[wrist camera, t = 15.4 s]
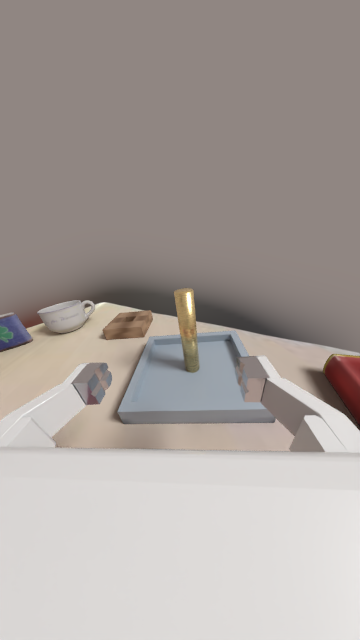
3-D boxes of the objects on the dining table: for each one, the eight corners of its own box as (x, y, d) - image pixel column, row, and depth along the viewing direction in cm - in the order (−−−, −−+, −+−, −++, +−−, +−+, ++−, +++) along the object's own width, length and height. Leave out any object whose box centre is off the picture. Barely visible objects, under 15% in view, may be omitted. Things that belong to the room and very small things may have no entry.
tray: (123, 423, 18) (117, 411, 17) (152, 346, 33) (149, 336, 31) (274, 422, 16) (278, 408, 15) (234, 340, 31) (235, 330, 30)
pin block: (106, 339, 37) (102, 329, 36) (122, 321, 46) (119, 313, 45) (144, 337, 36) (141, 326, 35) (152, 319, 45) (150, 310, 44)
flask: (34, 338, 43) (11, 305, 38) (31, 343, 41) (6, 308, 36) (-8, 350, 40) (-39, 315, 35) (-15, 356, 37) (-49, 319, 32)
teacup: (43, 340, 41) (26, 315, 38) (62, 324, 51) (50, 302, 47) (94, 330, 43) (83, 305, 40) (103, 316, 53) (95, 295, 49)
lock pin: (185, 373, 23) (173, 294, 17) (185, 362, 25) (174, 289, 19) (200, 372, 23) (193, 292, 17) (199, 361, 25) (192, 287, 19)
